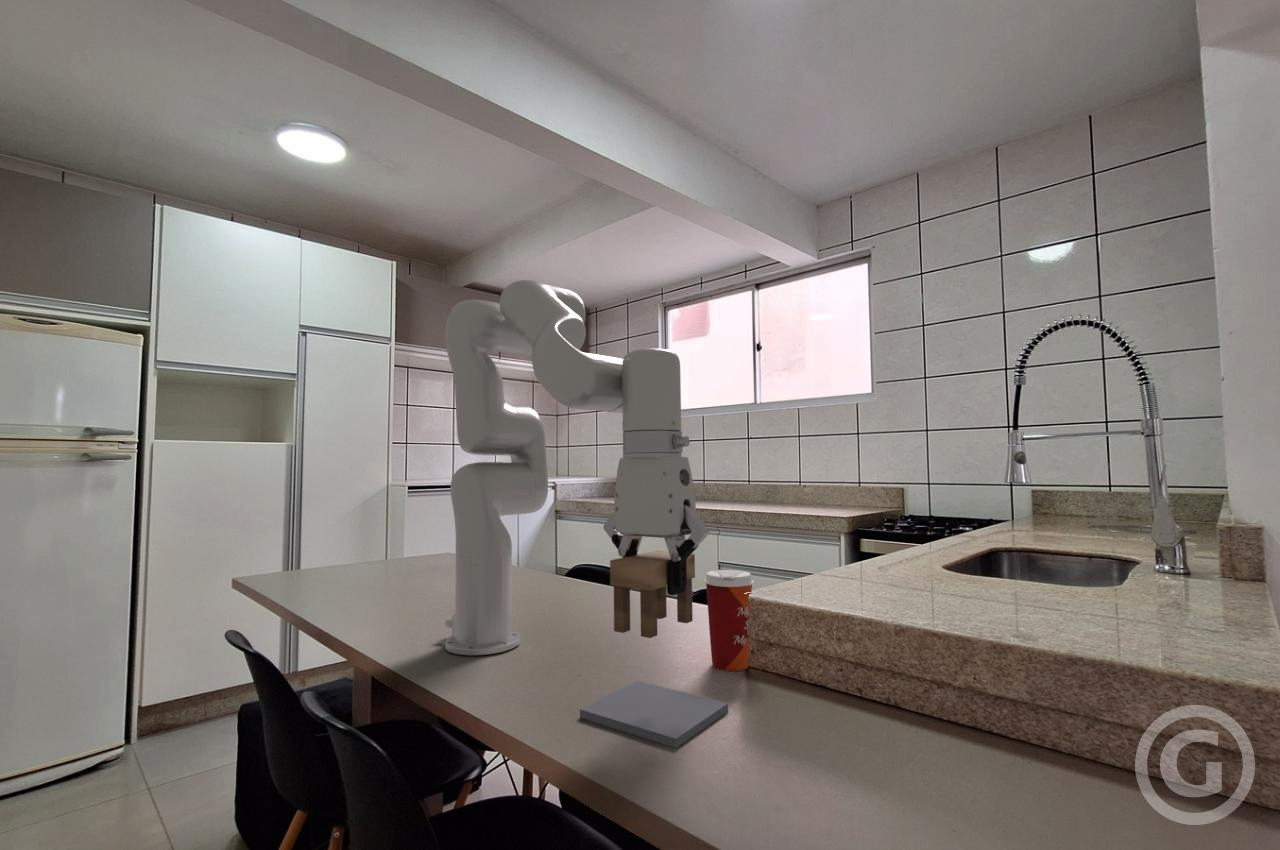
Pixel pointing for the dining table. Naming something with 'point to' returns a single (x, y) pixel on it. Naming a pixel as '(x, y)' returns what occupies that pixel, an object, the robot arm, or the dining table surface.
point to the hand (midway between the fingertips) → (654, 588)
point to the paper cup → (729, 618)
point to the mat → (655, 712)
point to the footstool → (647, 590)
